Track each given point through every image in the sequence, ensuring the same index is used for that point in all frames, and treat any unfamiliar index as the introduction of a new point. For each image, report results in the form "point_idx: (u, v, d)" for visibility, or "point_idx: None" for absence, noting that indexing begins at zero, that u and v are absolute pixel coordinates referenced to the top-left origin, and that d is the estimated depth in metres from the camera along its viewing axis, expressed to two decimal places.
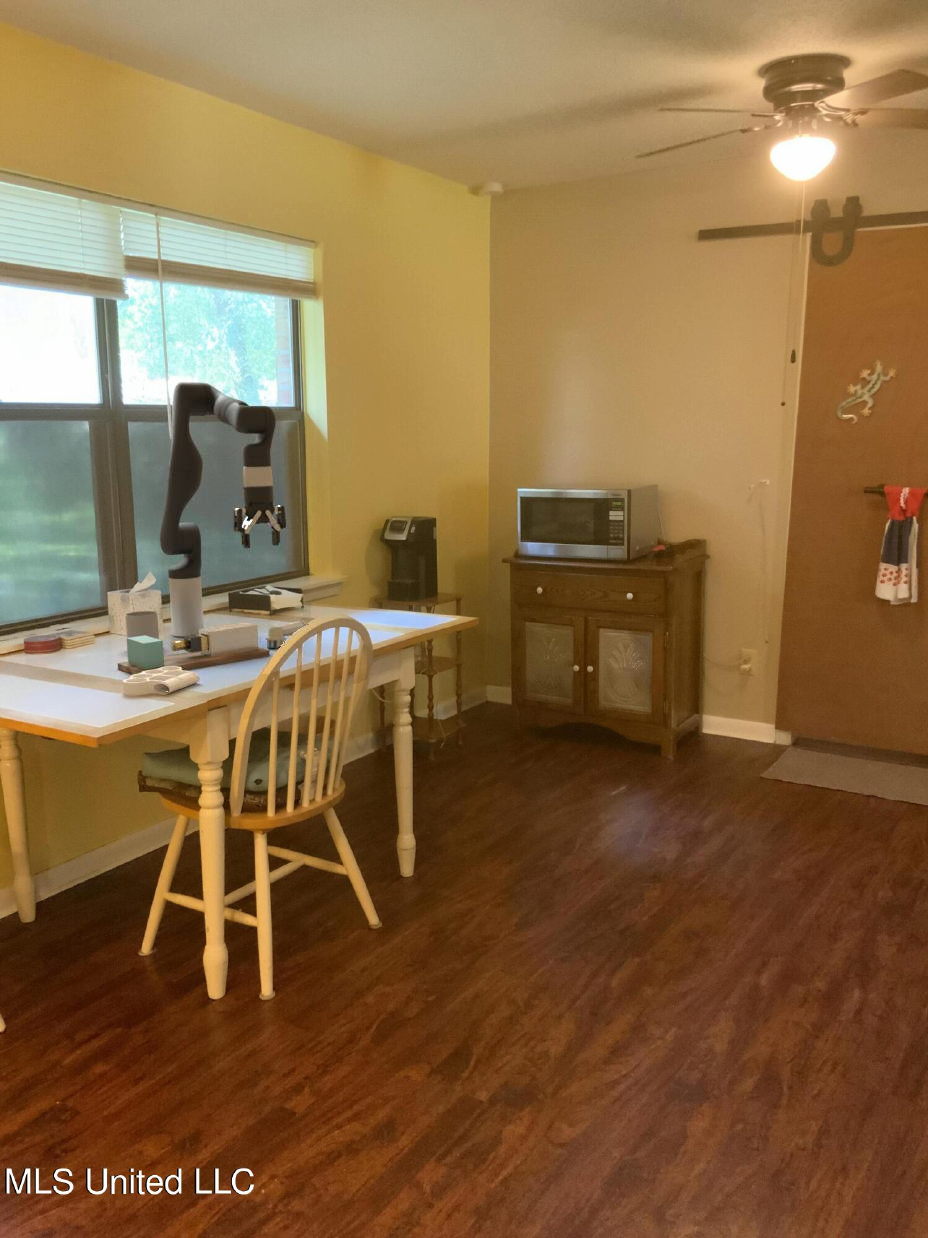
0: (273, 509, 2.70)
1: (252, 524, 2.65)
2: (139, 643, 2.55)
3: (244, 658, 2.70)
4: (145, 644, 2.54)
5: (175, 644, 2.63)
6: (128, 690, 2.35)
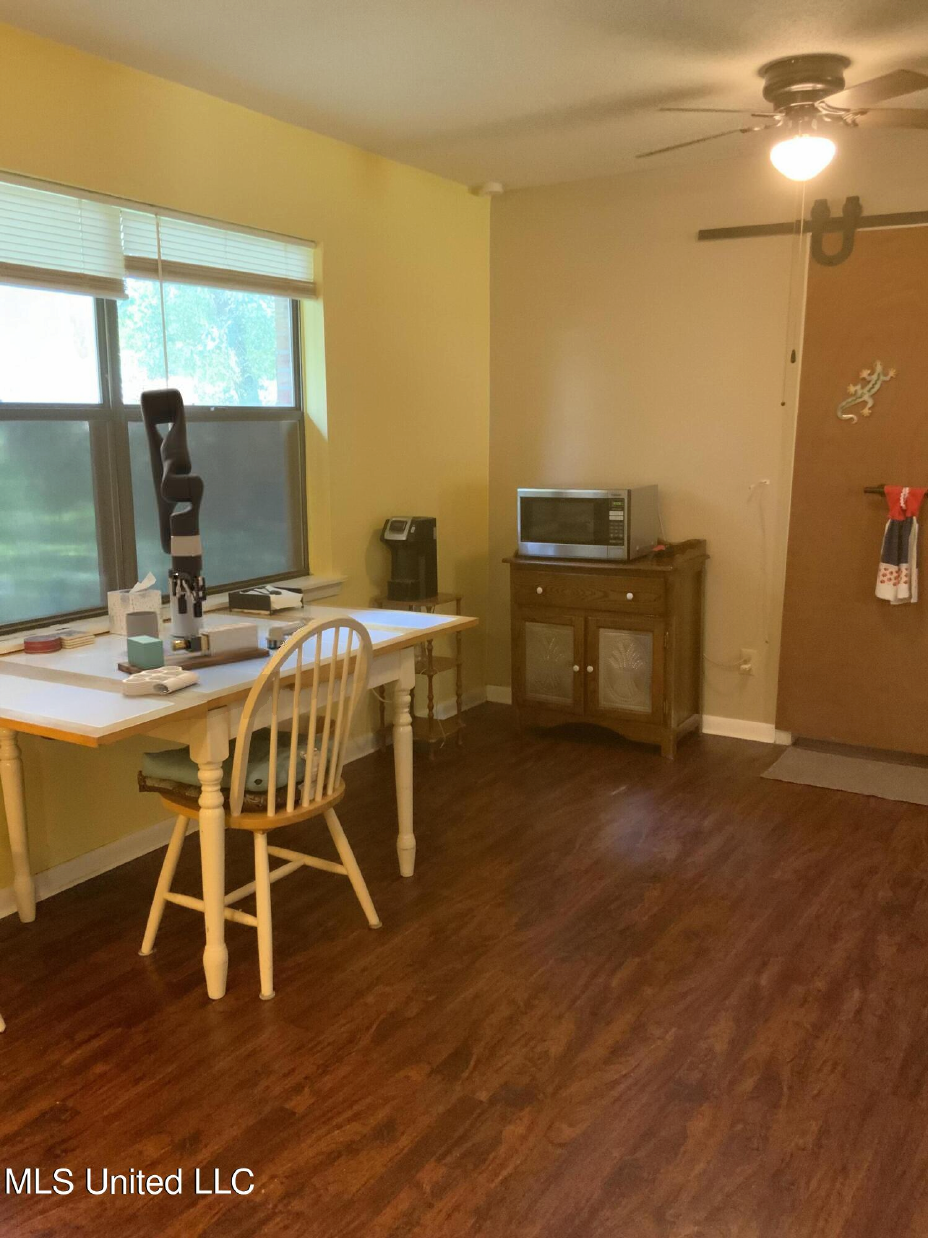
0: None
1: None
2: (139, 643, 2.55)
3: (244, 658, 2.70)
4: (145, 644, 2.54)
5: (175, 644, 2.63)
6: (127, 690, 2.35)
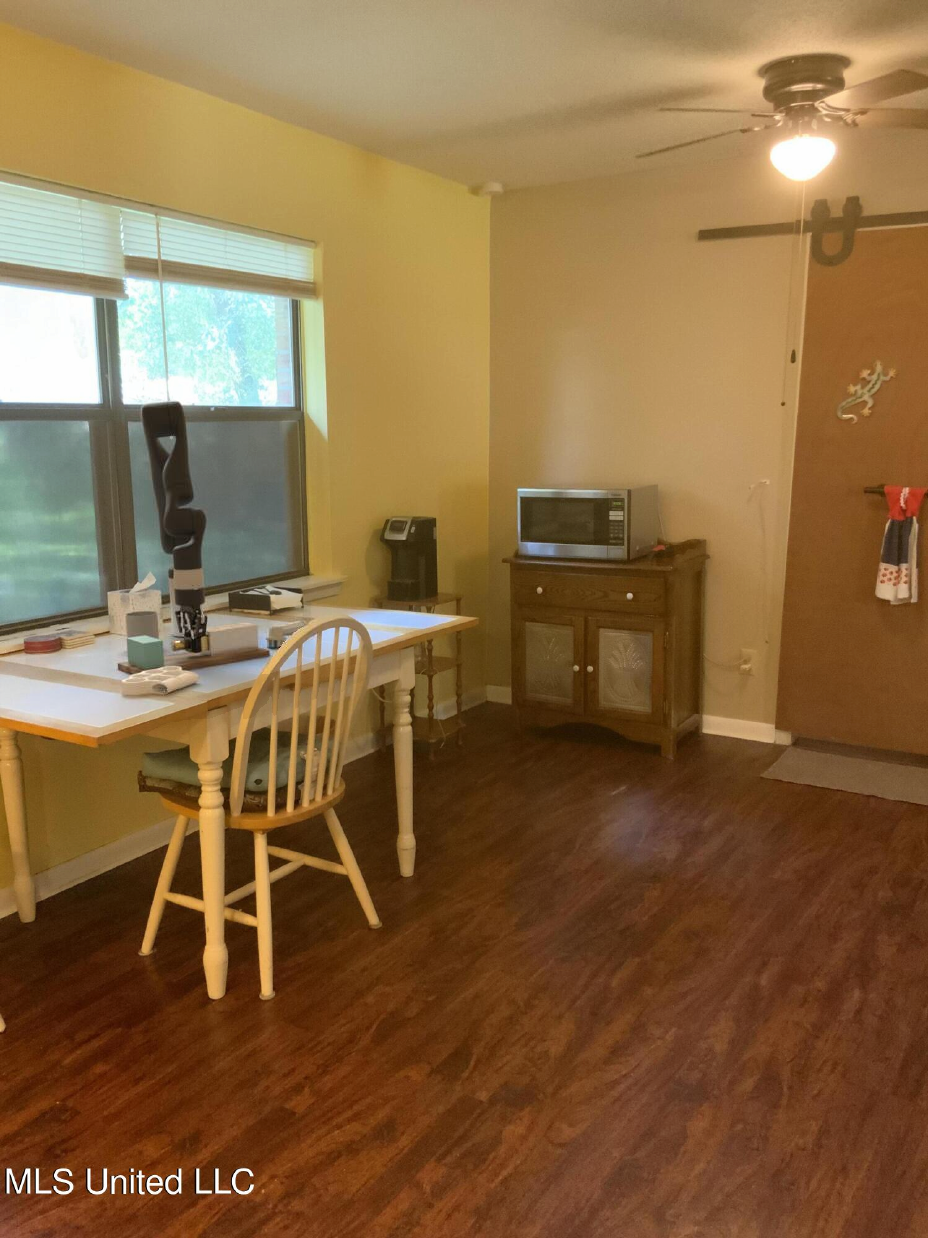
0: None
1: None
2: (139, 643, 2.55)
3: (244, 658, 2.70)
4: (145, 644, 2.54)
5: (175, 644, 2.63)
6: (127, 690, 2.35)
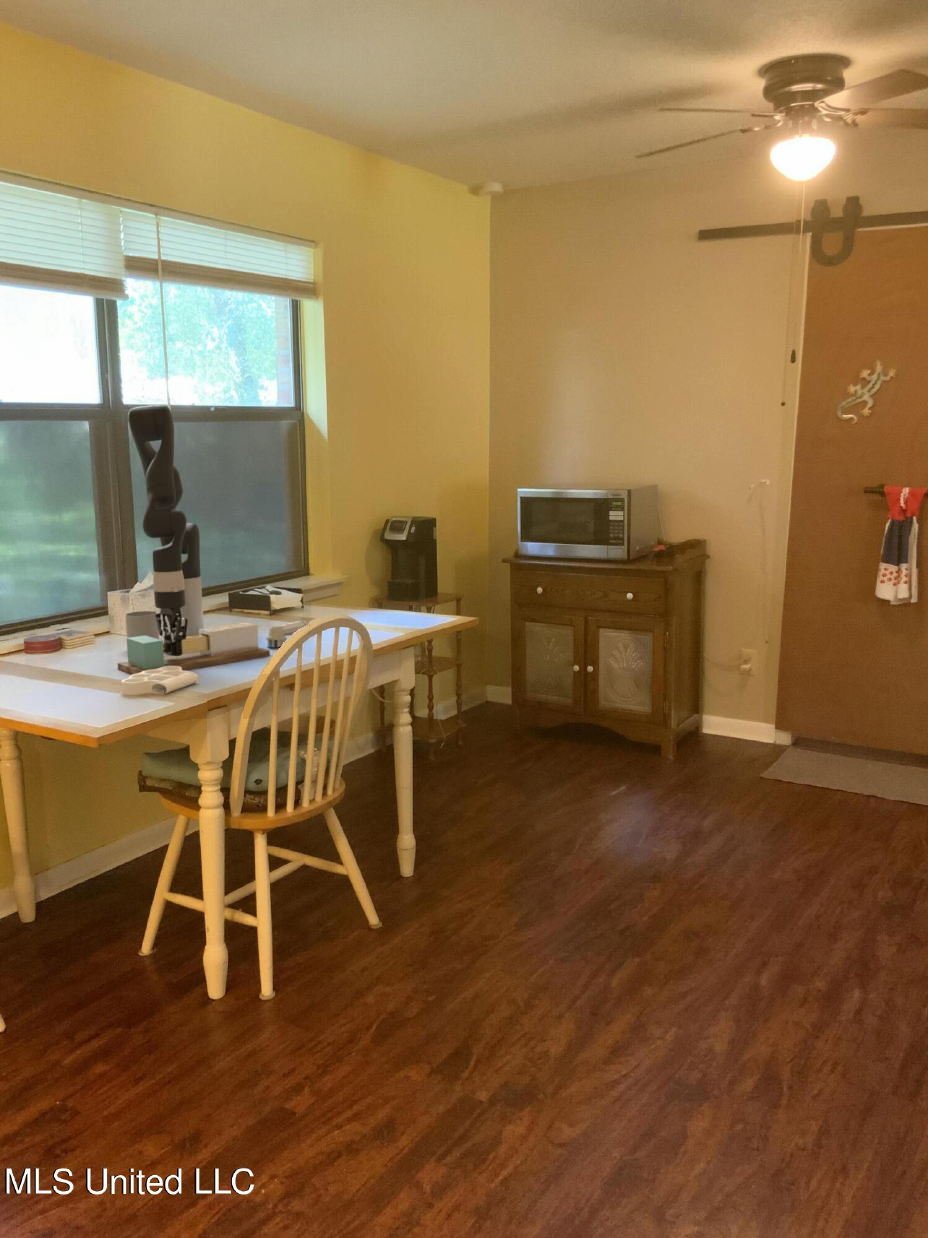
0: None
1: None
2: (139, 643, 2.55)
3: (244, 658, 2.70)
4: (145, 644, 2.54)
5: None
6: (126, 690, 2.35)
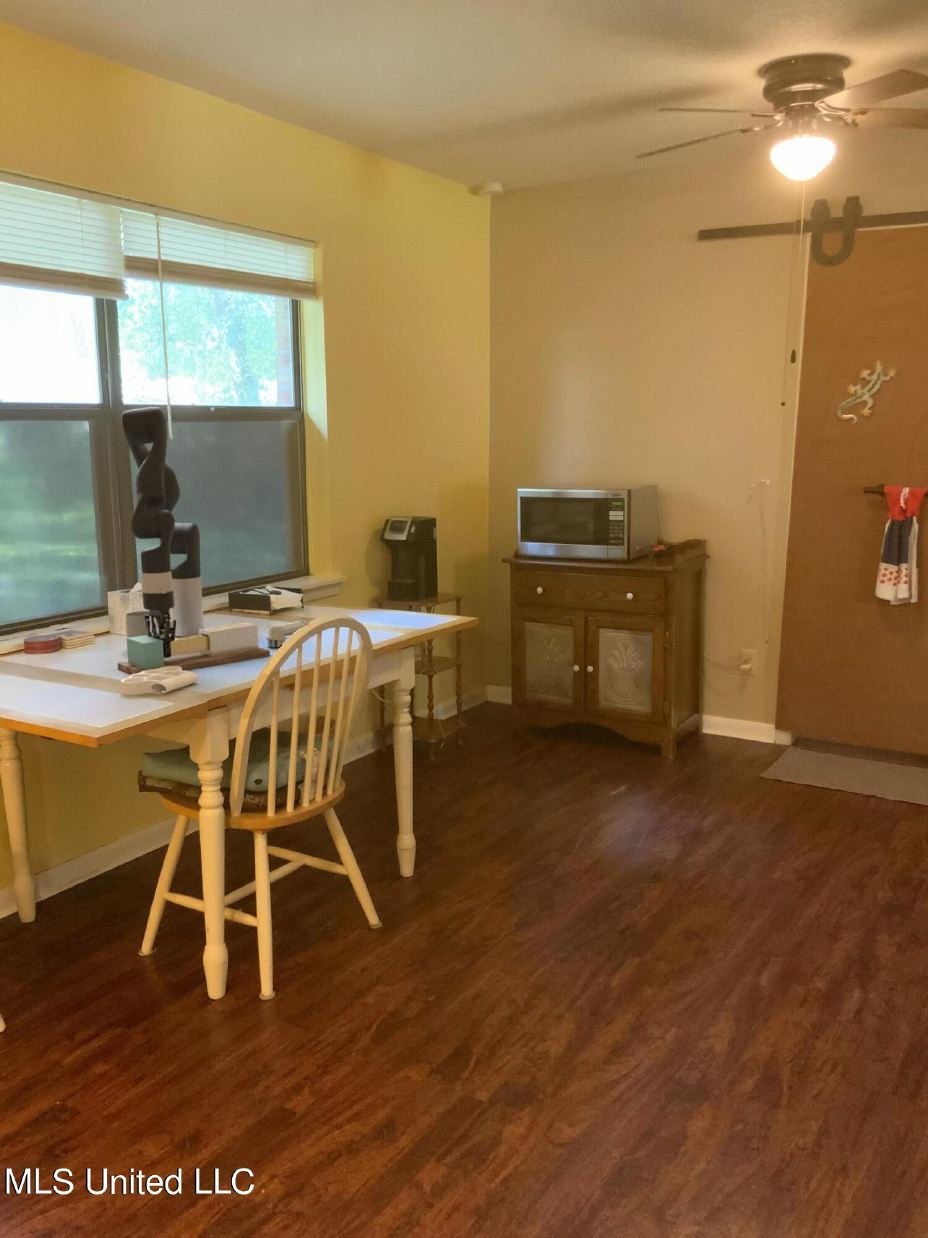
0: None
1: None
2: (139, 643, 2.55)
3: (244, 658, 2.70)
4: (145, 644, 2.54)
5: None
6: (125, 690, 2.35)
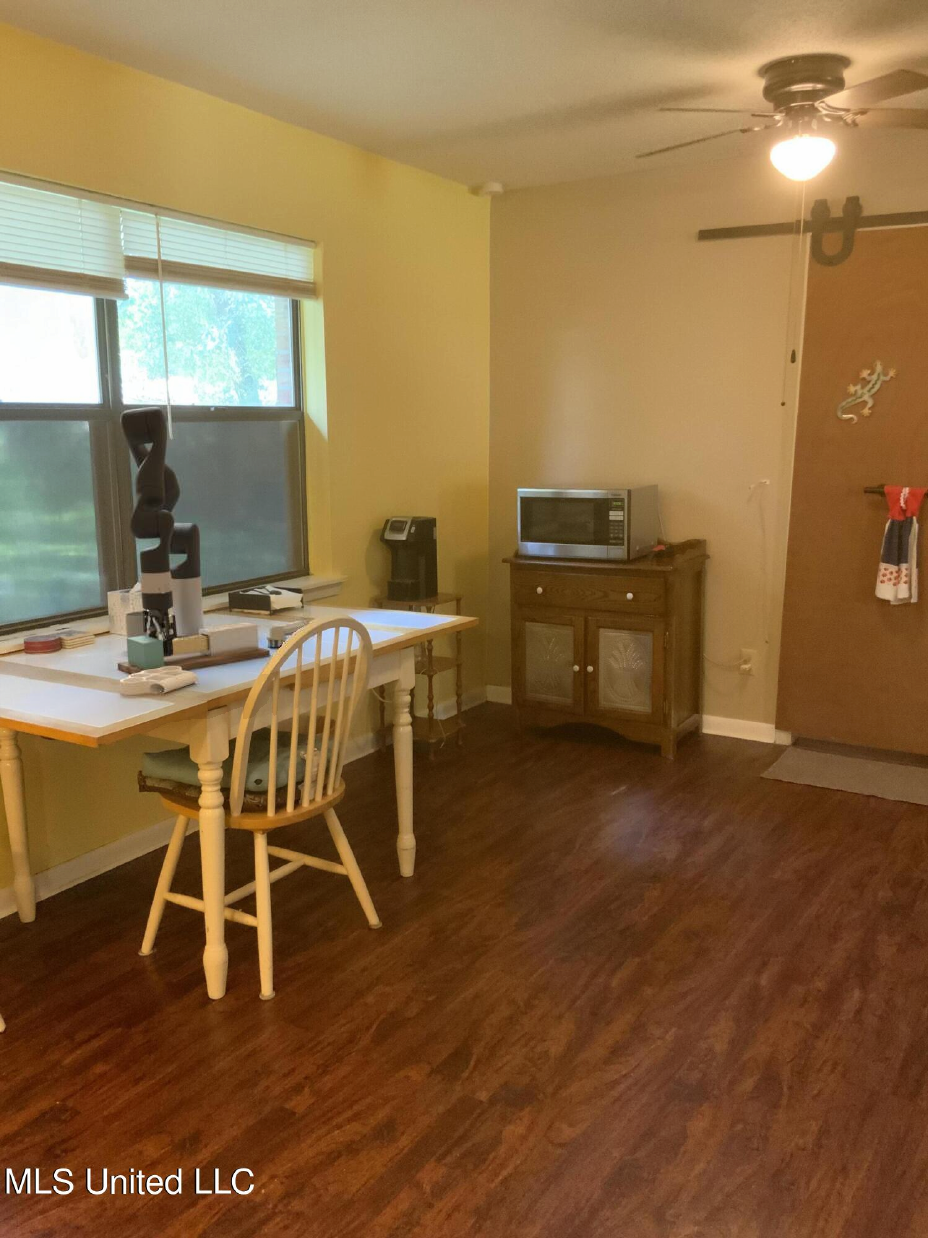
0: None
1: None
2: (139, 643, 2.55)
3: (244, 658, 2.70)
4: (145, 644, 2.54)
5: None
6: (124, 689, 2.35)
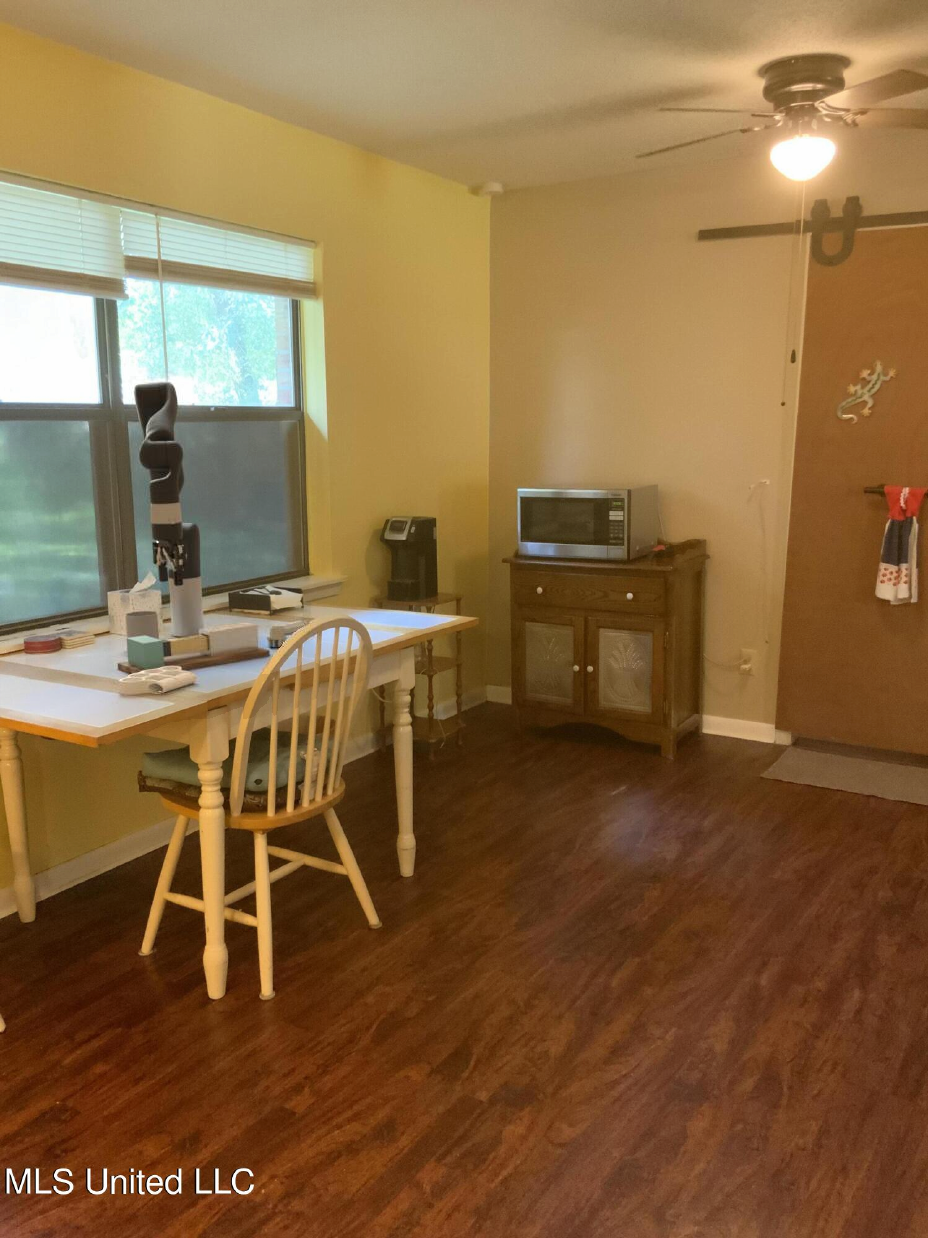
0: None
1: None
2: (139, 643, 2.55)
3: (244, 658, 2.70)
4: (145, 644, 2.54)
5: None
6: (123, 689, 2.36)
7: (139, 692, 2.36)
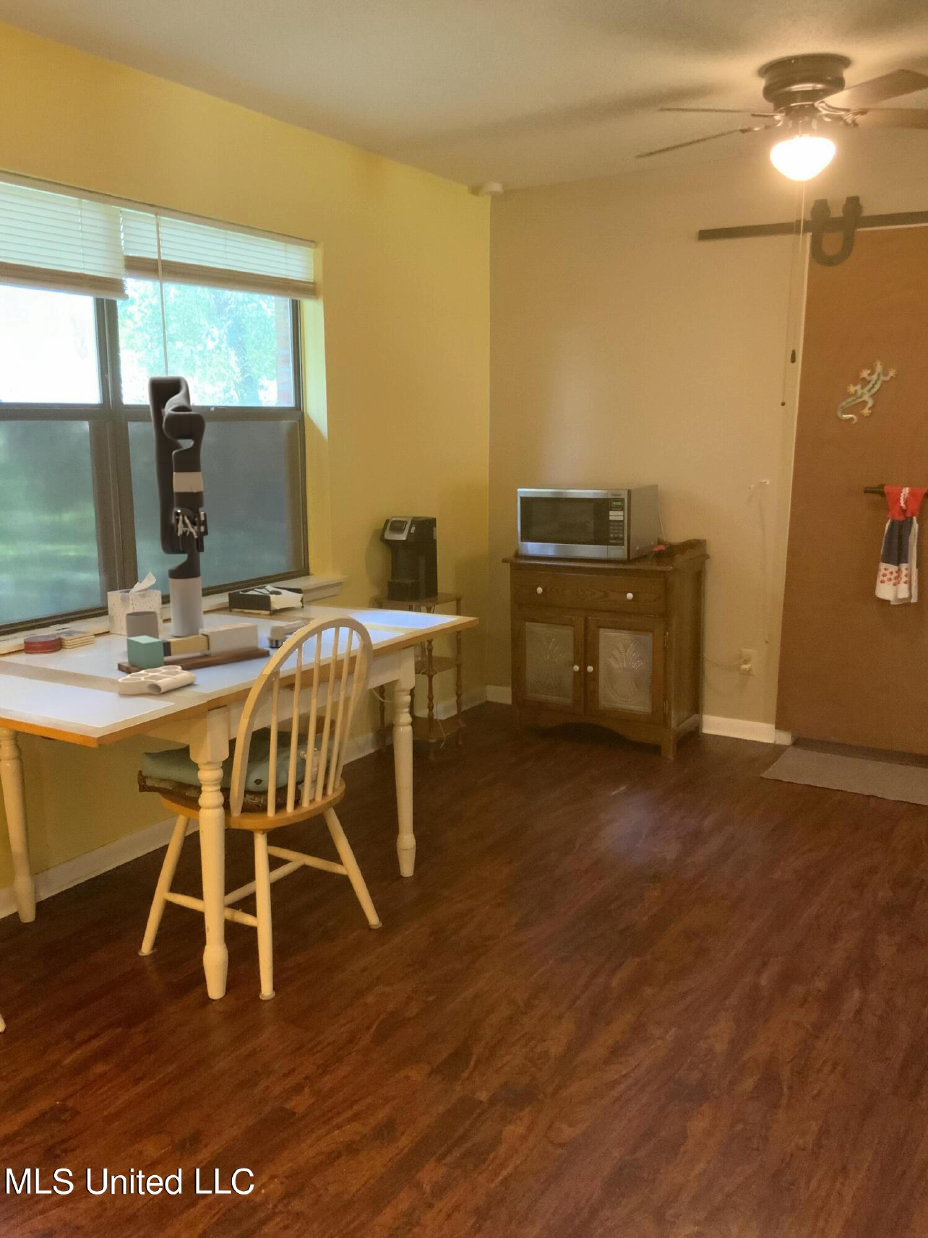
0: None
1: None
2: (139, 643, 2.55)
3: (244, 658, 2.70)
4: (145, 644, 2.54)
5: None
6: (122, 689, 2.36)
7: (138, 692, 2.36)
